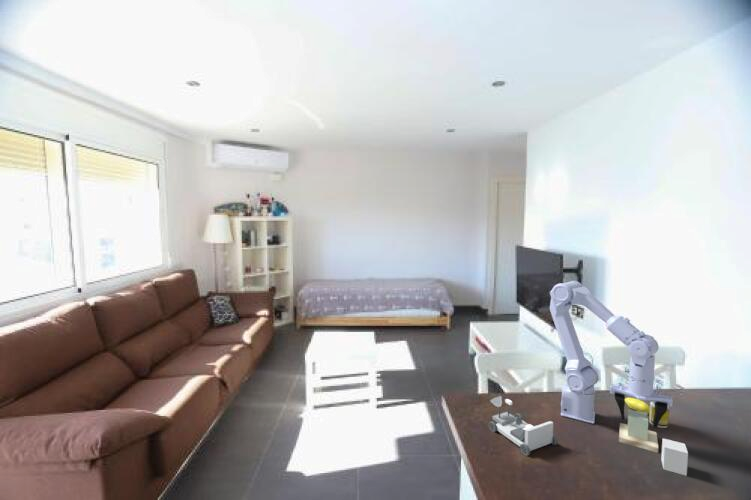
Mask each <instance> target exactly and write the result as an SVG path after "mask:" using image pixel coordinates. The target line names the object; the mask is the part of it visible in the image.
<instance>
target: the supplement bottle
mask: <svg viewBox="0 0 751 500" xmlns="http://www.w3.org/2000/svg"><path fill="white" fill-rule="evenodd" d="M649 407H650V412H649V414H648V423H649V424H651V425H652V426H653V419H654V413H655V402H652V401H650V403H649ZM667 407H668V410H667V412H666V413H665V414H664V415H663V416H662V418H661V419H660V421H659V423H658V426H657V428H661V429H667V428H668V427H669V413H670V406H668V405H667Z"/></svg>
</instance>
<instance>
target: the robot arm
mask: <svg viewBox="0 0 751 500" xmlns="http://www.w3.org/2000/svg"><path fill="white" fill-rule="evenodd" d="M549 295H550V303H549V311H550V314H551V319H552V320H553V323H554V326H555V329H556V332H557V336H558V338H559V341H560V343H561V347H562V351H563V352H564V355H565V359H566V364H565V367H564V371H565V382H566V385H565V384H563V385H562V388H561V401H560V407H561V408H560V416H561V417H566V418H569V419H572V420H573V419H574V420H577V421H580V422H585V423H589V424H593V425H594V424H595V420H596V419H595V417H596V411H594V410H595V409H594V407H595V385H596V384H597V383H598V382H599V374H598V372H597V371H596V370H595V369H594V367H593V366H592V363H591V361H589V359H587V358H586V357H585V354H584V351H583V348H582V346H581V342H580V340H579V338H578V334H577V332H576V329H575V326H574V322H573V320H572V317H571V314H570V310H571V308H572V307H573V305H578V306H580V305H581V306H584V307H585V308H586V309H588V310H589V311H590V312H591V313H592V314H593V315H595V316H596V317H598V318H599V319H601V320H602V321H603V322H604V323H605V324H606V329H607V330H608V331H609V332H610V333H611V334H612V335H613V336H615V338H616V339H618V340H619V341H620V342H621V343H623V344H624V345H625V347H626V349H627V352H628V354H629V355H630V360H629V372H628V373H629V374H628V375H629V377H628V386H623V385H622V386H621V385H613V384H610V389H609V393H610V394H611V395H614V400H615V403H616V405H617V407H618V409H619V413H620V418H621V421H625V405H626V403H625V398H626V397H629V398H635V399H639V400H641V401H643V402H645V401H647V402H648V401H649V402H655V413H654V419H653V425H652V426H653V428H654V429H658V427H657V426H658V423H659V421H660V419H661V418H662V416H663V415H664V414H665V413H666V412H667V410H668V407H673V403H674V401H673V397H671V396H668V395H663V394H660V393H658V392H654V383H655V382H654V380H655V361H656V359H655V358H656V353H657V352H658V350H659V347H660V346H659V343H658V341H657V340H656V339H655V338H654V337H653V336H652V335H649V334H646V333H645V332H644V331H641V330H639V329H638V328H637V327H636V326H635V325H633V324H632V323H631V320H630V319H629V318H628V317H624V316H622V315H615V314H614V313H613V312H612V311H611V310H610V309H608V308H607V307H606V306H605V305H604V304H603V303H602V302H601V301H600V300H599V299H597V297H596V296H594V294H592V293H591V292H590V290H589V289H588V287H587V286H584V285H582V283H581V282H579V281H577V280H570V281H567V282H563V283H561V282H560V283H557V284H555V285H553V287H552V289H551V290H550V291H549ZM667 406H668V407H667Z"/></svg>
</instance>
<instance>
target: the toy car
mask: <svg viewBox="0 0 751 500" xmlns="http://www.w3.org/2000/svg"><path fill="white" fill-rule="evenodd" d="M492 396H493V397H494V398H492V399H490V400H489V401H490V403H491V404H493V406H495V407H497V408H498V414H495V415H492V420H493V421H489V422H488V423H487V424H488V428H489V430H490V431H492V432H493V433H496V432H499V433H500V434H501V435H503V436H504V437H505V438H507V439H508V440H509V441H511V442H513V443H514V444H515V445H516V446H518V447H519V450H520V452H521V453H522V454H523V455H525V456H526V457H528V456H531V455H530V454H531V452H532V451H534V450H536V449H539V448H542V447H544V446H547V445H550V444H551V445H552V446H556V445H557V444H558V439H557V437H556V435H554V421H550V420H549V421H545V422H543V423H539V424H538V425H532V424H531V423H527V422H526V421H524V419H523V416H522V414H520V413H515V414H514V415H513V414H511V413H510V406H513V401H512V400H511V399H509V398H504V403H506V405H507V411H505V412H502V413H501V407H502V405H503V398H502V397H503V396H501V395H499V396H496V395H495V394H492ZM494 421H495V422H494Z"/></svg>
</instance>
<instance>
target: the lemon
mask: <svg viewBox="0 0 751 500" xmlns="http://www.w3.org/2000/svg"><path fill="white" fill-rule="evenodd" d="M625 405H627V406H628V408H630V410H634V411H639V412H643V413H647V415H649V412H650V405H648V403H646V402H645V401H643V400H639V399H637V398H633V397H629V396H627V397H625Z"/></svg>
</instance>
